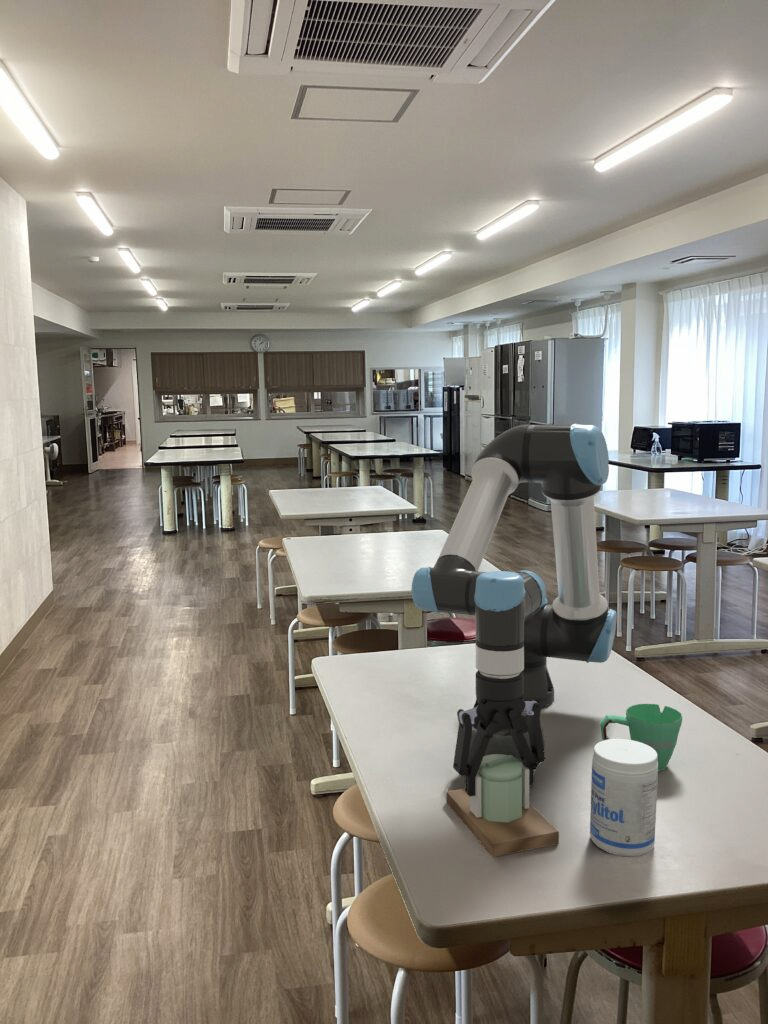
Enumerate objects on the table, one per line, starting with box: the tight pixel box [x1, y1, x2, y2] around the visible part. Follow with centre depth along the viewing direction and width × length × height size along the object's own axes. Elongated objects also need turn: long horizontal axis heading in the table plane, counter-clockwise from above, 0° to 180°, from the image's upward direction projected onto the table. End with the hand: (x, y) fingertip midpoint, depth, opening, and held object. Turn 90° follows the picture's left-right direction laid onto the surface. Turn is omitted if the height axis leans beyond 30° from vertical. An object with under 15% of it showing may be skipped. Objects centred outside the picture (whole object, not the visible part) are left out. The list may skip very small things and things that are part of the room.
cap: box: [477, 754, 522, 822], centre depth 132 cm, size 7×7×9 cm
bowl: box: [469, 713, 546, 767], centre depth 149 cm, size 15×15×10 cm
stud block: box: [446, 787, 560, 858], centre depth 133 cm, size 11×18×8 cm, turn 18°
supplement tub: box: [589, 738, 659, 857], centre depth 125 cm, size 10×10×15 cm
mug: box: [599, 703, 683, 772], centre depth 152 cm, size 15×10×10 cm
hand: (499, 808), depth 133 cm, fingers open, 8 cm apart
